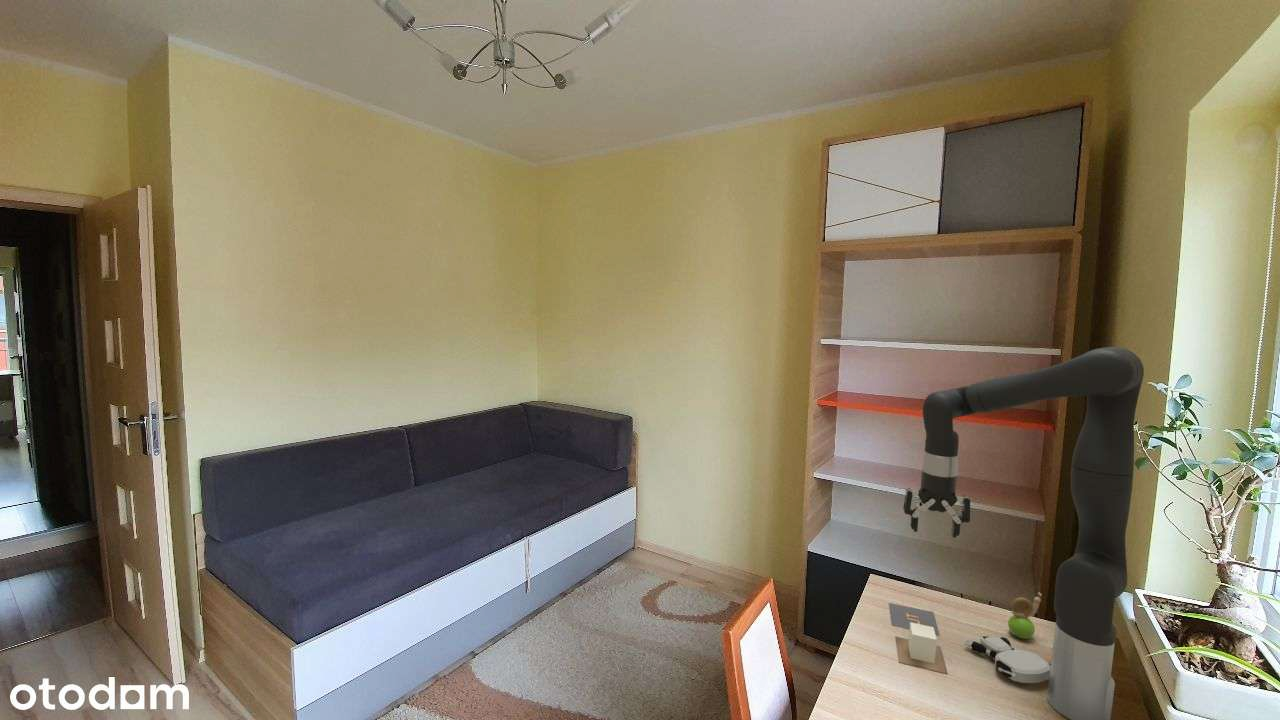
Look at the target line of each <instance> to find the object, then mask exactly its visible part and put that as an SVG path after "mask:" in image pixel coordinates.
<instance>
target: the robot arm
mask: <svg viewBox="0 0 1280 720" xmlns="http://www.w3.org/2000/svg"><path fill="white" fill-rule="evenodd" d="M1144 375H1145V369H1144V365H1143V362H1142V360H1141V359H1140V357H1139V356H1138V355H1137V354H1136V353H1134V352H1133V351H1131V350H1129V349H1127V348H1123V347H1120V346H1107V347H1100V348H1099V347H1098V348H1095V349H1092V350H1088V351H1086V353H1083V354H1081V355H1078V356H1077V357H1074V358H1071V359H1068V360H1066V361H1064V362H1061V363H1058V364H1056V365H1051V366H1048V367H1045V368H1042V369H1038V370H1034V371H1028V372H1024V373H1017V374H1011V375H1005V376H1002V377H1001V376H1000V377H996V378H992V379H987V380H983V381H979V382H975V383H971V384H970V385H968V386H963V387H957V388H950V389H945V390H938V391H935V392H931V393H930V394H928V395H927V396H926V397H925V399H924V401H923V405H922V417H923V425H924V430H925V434H926V435H925V441H924V442H925V443H924V452H923V453H924V454H923V457H922V466H921V467H922V468H921V478H920V488H919V490H918V491H917V490H912V489H911V488H906V489H905V494H904V500H903V505H902V506H903V507H902V508H903V512H904V514H905V515H908V516H910V527H911V530H913V533H914V532H915V533H918V529H919V527H918V526H919V516H920V515H921V514H923V513H924V512H926V510H929V511H931V512H940V513H945V512H948V514H949V516H951V518H952V519H953V520H952V521H951V532H950V533H951V537H952V538H954V539H957V536H958V537H959V536H960V533H961V531H960V530H961V525H962V523H970V521H971V499H970V497H968V495H966V494H965V495H962V496H957V494H956V491H957V490H956V489H957V482H958V481H957V480H958V472H959V469H958V468H959V463H958V459H959V458H958V452H959V443H960V442H959V441H960V438H959V437H960V436H959V434H958V432H957V431H956V430H954V425H953V424H954V423H953V422H954V421H953V420H954V419H956V418H961V417H966V416H969V415H974V414H979V413H981V414H984V413H991V412H997V411H1003V410H1006V409H1007V410H1008V409H1012V408H1017V407H1021V406H1026V405H1029V404H1032V403H1037V402H1042V401H1045V400H1051V399H1060V398H1067V397H1084V396H1085V397H1086V412H1085V418H1084V422H1083V424H1082V426H1081V429H1080V432H1079V435H1078V438H1077V441H1076V443H1075V446H1074V449H1073V453H1072V458H1071V459H1072V460H1071V468H1070V469H1071V470H1070V493H1071V497H1072V500H1073V504H1074V507H1075V510H1076V514H1077V518H1078V537H1077V541H1076V545H1075V550H1074V553H1073V556H1072V557H1070V558H1068V559H1066V560H1065V561H1063V562H1062V563H1061V564H1060V566H1059V567H1058V569H1057V572H1056V577H1055V587H1054V600H1053V609H1054V613H1055V616H1056V619H1055V628H1054V636H1053V643H1052V644H1053V645H1052V653H1051V661H1050V664H1051V666H1050V667H1051V669H1050V678H1049V679H1048V687H1047V696H1046V697H1047V699H1046V700H1047V702H1048V703H1049V705H1050V706H1051V707H1052V708H1053V710H1055V711H1056V712H1058V713H1059V714H1060V715H1062V717H1063V716H1064V717H1066V718H1067V719H1069V720H1111V718H1112V717H1111V716H1112V709H1113V702H1114V694H1115V688H1116V687H1115V685H1116V682H1115V680H1114V678H1113V677H1112V676H1111V675H1112V670H1113V669H1112V668H1113V662H1114V661H1113V660H1114V650H1115V645H1116V637H1117V629H1116V626H1115V625H1114V624H1113V616H1114V610H1115V609H1114V608H1115V601H1116V599H1118V598H1119V597H1120V596H1121V595H1122V594H1123V593H1124V592H1125V590H1126V588H1127V585H1128V566H1127V553H1126V552H1127V551H1126V532H1127V527H1128V526H1127V525H1128V522H1129V515H1130V509H1131V508H1130V507H1131V500H1132V495H1133V494H1132V493H1133V483H1134V481H1133V480H1134V473H1135V471H1134V470H1135V467H1134V466H1135V464H1134V463H1135V462H1134V461H1135V417H1136V416H1135V415H1136V410H1137V406H1138V401H1139V396H1140V391H1141V387H1142V384H1143V380H1144ZM916 497H918V498H919V502H918V503H917V504H916V506H914V507H913V508H911V507H912V500H915V499H916ZM957 502H958V504H959V505H960V506H961V514H960V515H958V514H957V512H956V511H955V510H954V508H953V506H954V505H955V504H956V503H957Z"/></svg>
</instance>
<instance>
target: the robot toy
mask: <svg viewBox="0 0 1280 720" xmlns="http://www.w3.org/2000/svg"><path fill="white" fill-rule="evenodd" d="M979 640H980V641H979V642H978V641H975V640H974V641H970V640H965V642H964V644H965V646H966V647H968V648H971V650H972V651H973V652H977V653H978V654H984V655H986V656H988V657H989V658H991V659H993V660H994V665H995V668H996V670H998V671H999V672H1000V673H1001V674H1003V675H1004V676H1005V677H1007V678H1008V680H1009V679H1010V680H1011V681H1013V682H1017V683H1022V684H1038V683H1041V682H1044V681H1047V680H1049V678H1050V670H1051V663H1049V662H1048V661H1046V659H1045V660H1044V659H1043V658H1042V657H1040V656H1039V655H1037V654H1036V653H1034V652H1031V651H1028V650H1023V649H1015V648H1013V647H1012V645H1011V642H1010V641H1009V639H1008V638H1007V637H1005V636H999V635H997V636H991V635H986V636H985V635H984V636H980V639H979Z"/></svg>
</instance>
